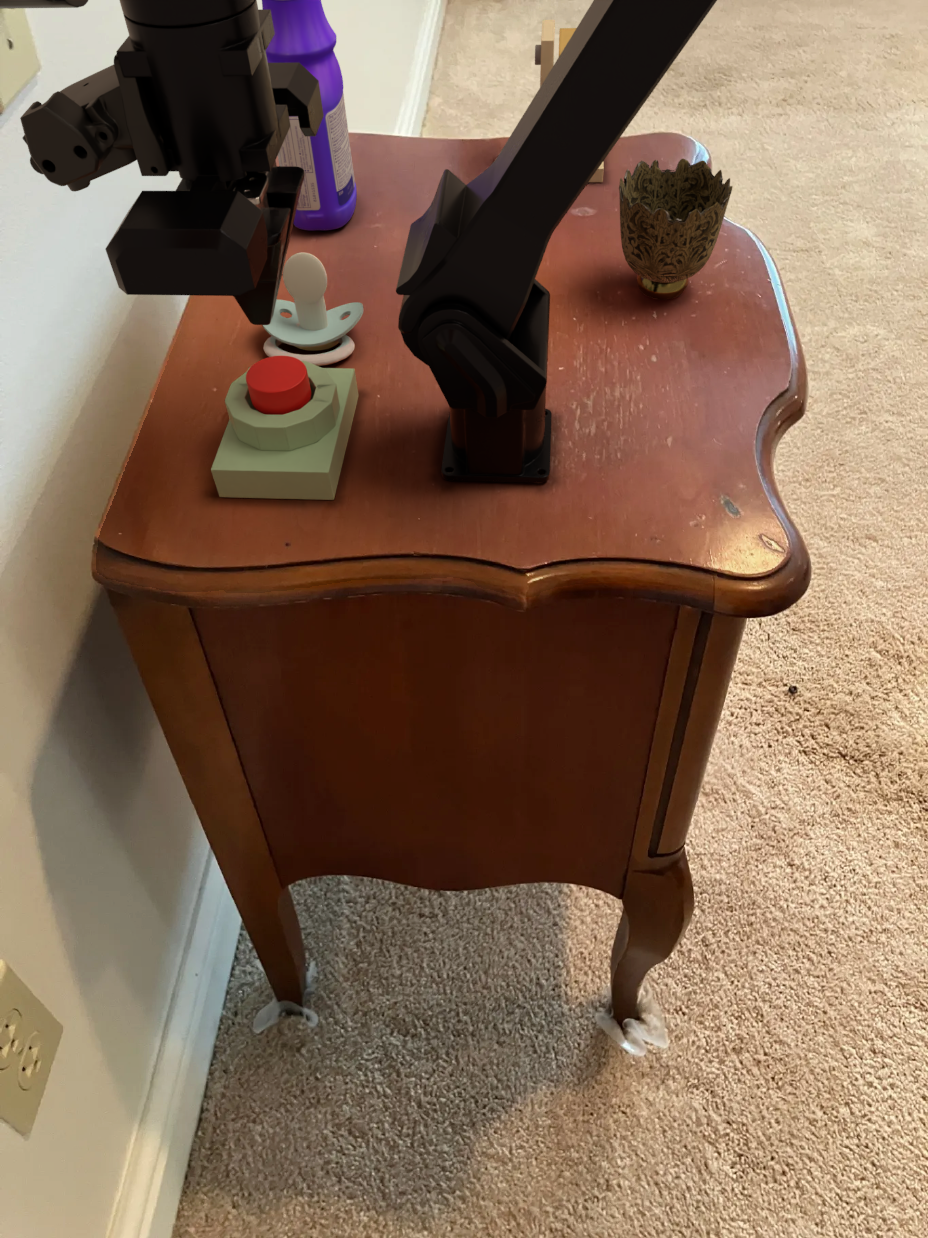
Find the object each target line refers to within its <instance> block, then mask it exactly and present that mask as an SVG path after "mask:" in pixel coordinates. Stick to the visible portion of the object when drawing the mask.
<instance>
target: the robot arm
mask: <svg viewBox="0 0 928 1238" xmlns="http://www.w3.org/2000/svg"><path fill="white" fill-rule="evenodd" d="M717 1H718V0H593V1H592V2H591V4H590V6H589V8H587V10H586V12H585V14H584V15H583V17H582V19H581V20H580V22H579V23H578V25H577V27H575V28H576V30H575V32H574V33H573V35H572V37H571V38H570V40H569V41H568V43H567V45H566V46H565V48H564V50H563V51H562V53H561V54H560V56H559V55H558V58H557V59H556V61H555V62H554V66H553V67H552V69H551V71H550V72H549V74H548V76H547V77H546V79H545V80H544V82H543V84H542V85H541V87H540V86H539V88H538V90H537V92H536V93H535V95H534V97H533V98H532V100H531V102H530V103H529V105H528V106H527V108H526V109H525V111H524V112H523V115H522V116H521V118H520V119H519V121H518V123H517V124H516V126H515V128H514V129H513V131H512V132H511V134H510V136H509V137H508V139H507V141H506V142H505V144H504V145H503V147H502V149H501V151H500V152H499V154H497V157H496V158H495V160H494V161H493V162H492V163H491V164H490V165H489V166H488V167H487V168H486V169H485V170H483V171H482V172H481V173H480V174H478V175H477V176H476V177H474V178H473V179H471V181H469V182H468V183H467V184H466V183H465V182H463V181H462V180H461V179H460V178H459V177H458V176H457V175H456V174H454V173H453V172H452V171H451V170H450V169H447V168H445V169H444V170H443V172H442V175H441V177H440V180H439V182H438V185H437V188H436V190H435V193H434V197H433V199H432V201H431V203H430V205H429V207H428V208H427V209H426V210H425V212H424V213H423V214H422V215H421V216H420V217H418V218H417V219H416V220H414V221H413V222H411V224H410V225H409V230H408V235H407V239H406V244H405V248H404V252H403V257H402V262H401V266H400V269H399V270H400V271H399V275H398V279H397V284H396V288H395V293H396V294H397V295H399V296H403V297H402V300H401V305H400V309H399V314H398V321H397V322H398V324H397V328H398V330H399V332H400V335H401V337H402V340H403V343H404V345H405V346H406V347H407V349H408V350H409V351H410V352H411V353H412V355H413V356H414V357H415V358H416V359H418V360H419V361H421V363H424V364H425V365H426V366H427V367H429V369H430V372H431V373H432V376H433V377H434V380H435V381H436V383H437V385H438V387H439V389H440V390H441V393H442V395H443V397H444V398H445V399H444V400H445V401H446V402H447V405H448V406H449V407H448V408H449V411H448V418H447V425H446V432H445V439H444V448H443V454H442V462H441V467H440V468H441V470H440V471H441V478H442V479H443V480H445V481H454V482H455V481H456V482H457V481H458V482H492V483H493V482H494V483H495V482H496V483H498V482H499V483H539V484H541V483H546V482H548V481H549V480H550V477H551V476H550V475H551V447H552V446H551V445H552V411H551V410H550V409H548V408H546V400H547V399H546V398H547V383H548V363H549V360H548V359H549V338H550V337H549V336H550V333H549V332H550V313H551V312H550V311H551V293H550V291H549V290H548V289H547V288H546V287H545V286H544V285H543V284H542V283H541V282H539V281H538V280H537V279H536V278H537V275H538V271H539V269H540V266H541V263H542V261H543V258H544V256H545V252H546V250H547V248H548V244H549V242H550V239H551V237H552V236H553V233H554V232H555V230H556V229H557V227H558V226H559V225H560V223H561V222H562V220H563V219H564V217H565V216H566V215H567V213H568V212H569V210H570V209H571V207H572V206H573V205H574V203H575V202H576V200H577V199H578V197H579V196H580V195H581V194H582V192H583V190H584V189H585V188H586V187H587V185H588V184H589V183H590V182H589V181H590V179H591V178H592V176H593V175H594V174H595V172H596V171H597V169H598V168H599V166H600V165H601V164H602V162H603V161H604V162H605V160H606V158H607V157H608V155H609V154H610V152H611V151H612V150H613V148H614V147H615V145H616V144H617V143H618V141H619V140H620V138H621V137H622V136H623V134H624V133H625V131H626V130H627V128H628V127H629V126H630V124H631V123H632V121H633V120H634V119H635V117H636V116H637V114H638V113H639V112H640V110H641V108H642V107H643V106H644V104H645V103H646V101H647V100H648V99H649V97H650V96H651V94H652V93H653V92H654V90H655V89H656V88H657V86H658V85H659V83H660V82H661V81H662V80H663V77H664V76H665V75H666V74H667V72H668V71H669V69H670V68H671V66H672V65H673V63H674V62H675V61H676V59H678V56H679V55H680V53H681V52H682V51H683V49H684V48H685V47H686V45H687V44H688V42H689V41H690V39H691V38H692V36H693V35H695V32H696V31H697V30H698V28H699V27H700V25H701V24H702V22H703V21H704V20H705V19H706V17H707V16H708V14H709V13H710V11H711V10H712V8H713V7H714V6H715V5H716V3H717ZM88 2H89V0H0V10H1V9H72V8H73V9H74V8H75V9H78V8H81V7H84V6H86V4H87V3H88ZM119 3H120V7H121V11H122V14H123V18H124V21H125V25H126V29H127V32H128V36H127V37H126V39H125V40H124V41H123V43H122V44H121V45H120V46H119V47H118V49H117V50H116V54H115V55H114V57H113V64H111V65H109V66H108V67H106V68H103V69H100V70H99V71H97V72H95V73H93V74H90V75H88V76H86V77H84V78H82V79H79V80H78V81H76V82H73V83H71V84H70V85H68V86H66V87H64V88H63V89H61V90H60V91H55V92H54V93H52V94H51V95H50V97H49V98H48V99H47V100H46V101H45V102H44V103H42V102H40V101H39V100H37V101H34V102H32V104H30V106H29V107H28V108H27V109H26V110H25V112H24V113H23V114H22V115H21V116H20V117H19V120H20V123H21V127H22V129H23V130H22V131H23V134H24V135H23V136H22V140H23V141H24V143H25V144H26V145H27V149H28V152H29V155H30V158H29V163H30V167H32V169H33V170H34V171H35V172H36V173H38V174H40V175H44V177H45V179H46V180H48V181H49V182H50V183H52V184H55V185H57V186H60V187H65V186H67V187H68V189H69V190H70V191H71V192H80V191H82V190H84V189H87V188H89V186H90V185H91V181H93V180H96V179H98V178H101V177H103V176H106V175H108V174H110V173H113V172H114V171H117V170H120V169H122V168H124V167H127V166H129V165H130V164H133V163H134V162H136V161H137V165H138V169H139V171H140V175H141V177H167V176H168V174H169V173H170V172H178V175H179V178H180V179H181V180H180V182H179V183H178V185H177V187H176V189H175V190H141V192H140V193H139V195H138V196H137V198H136V199H135V200H134V202H133V204H132V205H131V206H130V208H129V209H128V211H127V212H126V214H125V216H124V217H123V219H122V221H121V223H120V224H119V226H118V228H117V229H116V230H115V232H114V233H113V236H112V237H111V239H110V240H109V242H108V244H107V246H106V247H105V252H106V256H107V258H108V261H109V263H110V267H111V269H112V272H113V275H114V278H115V281H116V284H117V287H118V288H119V289H120V290H121V291H122V292H123V293H124V294H126V295H127V296H128V295H130V296H132V295H133V296H198V297H199V296H206V297H207V296H208V297H209V296H210V297H212V296H213V297H215V296H216V297H219V296H220V297H233V298H234V300H235V301H236V302H237V304H238V305H239V307H240V309H241V310H242V313H244V315H245V317H246V318H247V320H248V321H249V323H250V324H252V325H254V326H262V325H269V324H270V322H271V320H272V317H273V314H274V309H275V305H276V300H278V295H279V290H280V285H281V281H282V278H283V269H284V266H285V263H286V258H287V254H288V251H289V250H288V249H289V244H290V241H291V235H292V232H293V226H294V224H293V223H294V218H295V214H296V209H297V205H298V201H299V196H300V192H301V187H302V184H303V181H304V176H305V172H304V169H302V168H301V167H296V166H279V165H277V161H276V160H277V159H278V153H279V151H280V149H281V146H282V144H283V142H284V140H285V137H286V135H287V133H288V131H289V128H290V120H289V116H298V120H299V126H300V129H301V131H302V132H303V134H304V136H316V134H317V131H318V129H319V126H320V124H321V121H322V119H323V116H324V115H323V108H322V101H321V94H320V87H319V81H318V80H317V79H316V78H315V77H314V76H313V75H312V74H311V73H310V72H309V71H308V70H307V69H306V68H305V67H304V66H302V65H301V64H300V63H268V61H267V55H266V49H267V47H268V46H269V44H270V42H271V40H272V38H273V36H274V35H275V32H274V26H273V21H272V15H271V9H267V10H263V9H259V6H258V0H119Z"/></svg>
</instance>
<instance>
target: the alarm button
mask: <svg viewBox="0 0 928 1238" xmlns="http://www.w3.org/2000/svg"><path fill="white" fill-rule="evenodd" d="M249 367H250V368H249ZM249 367H248V368H249V370H248V369H247V370H248V371H247V370H246V372H247V374H246V382H247V386H248V390H249V394H250V398H251V401H252V404H253V406H254V408H255V409H256V410H258V411H259V412H261V413H263V414H271V415H283V414H286V413H289V412H293V411H296V410H299V409H301V408H302V407H303V406H305V405H306V404H307V403H308V402H309V400H310V398H311V388H310V383H309V378H308V373H307V369H306V366H305V365H304V363H303V362H302V361H300V360H299V359H297V358H294V357H290V356H272V357H269V356H267V357H264V358H261V359H260V360H258V361H256V362H255V363H253V364H252V365H251V366H249Z"/></svg>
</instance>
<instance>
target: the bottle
mask: <svg viewBox="0 0 928 1238" xmlns="http://www.w3.org/2000/svg"><path fill="white" fill-rule="evenodd" d="M261 6H262V7H261V8H262V9H261V10H267V9H271V15H272V21H273V26H274V32H275V35H274V36H273V38H272V40H271V42H270V44H269V46H268V47H267V49H266V55H267V61H268V63H300V64H301V65H302V66H304V67H305V68H306V69H307V70H308V71H309V72H310V73H311V74H312V75H313V76H314V77H315V78H316V79H317V80H318V81H319V87H320V94H321V101H322V108H323V115H324V116H323V119H322V121H321V124H320V126H319V129H318V131H317V134H316V136H304V134H303V132H302V131H301V129H300V126H299V120H298V116H289V120H290V128H289V131H288V133H287V135H286V137H285V140H284V142H283V144H282V146H281V149H280V151H279V153H278V156H277V160H278V161H277V162H278V166H296V167H301V168H302V169H304V172H305V176H304V181H303V184H302V187H301V192H300V196H299V201H298V205H297V209H296V214H295V218H294V223H293V226H294V227H295V228H297V229H300V230H304V231H332V230H336V229H337V230H338V229H339V228H340V229H341V228H342V227H344V226H345V225H346V224H348V223H349V222H350V220H351V218H352V217H353V215H354V213H355V210H356V205H357V197H358V196H357V195H358V194H357V193H358V191H357V183H356V179H355V172H354V171H355V170H354V164H353V157H352V151H351V142H350V134H349V127H348V118H347V112H346V103H345V94H344V80H343V75H342V69H341V65H340V63H339V60H338V58H337V56H336V54H335V51H334V49H335V48H336V44H337V33H336V32H335V30H334V29H333V28H332V26H331V24H330V23H329V20H328V19H327V17H326V14H325V11H324V7H323V4H322V0H261Z"/></svg>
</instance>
